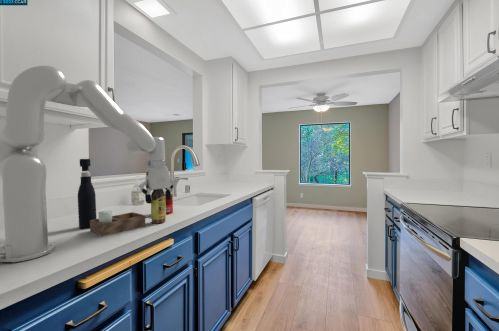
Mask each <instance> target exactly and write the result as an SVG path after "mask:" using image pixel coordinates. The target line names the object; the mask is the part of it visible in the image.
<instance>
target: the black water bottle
mask: <svg viewBox="0 0 499 331" xmlns="http://www.w3.org/2000/svg"><path fill="white" fill-rule="evenodd" d="M79 167H81V171H82V172H81V173H80V174H81V175H80V184H79V187H78V190H77V210H78V214H77V215H78V229H80V230H88V229H89V230H90V220H94V219H97V202H96V201H97V200H96V191H95V188H94V186H93V183H92V176H91V172H90V167H91V158H80V159H79Z"/></svg>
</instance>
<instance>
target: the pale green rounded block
mask: <svg viewBox="0 0 499 331" xmlns="http://www.w3.org/2000/svg"><path fill="white" fill-rule="evenodd" d="M112 216H113V211H112V210H103V211H99V212H98V219H99V223H101V224H104V223H109V222H112Z"/></svg>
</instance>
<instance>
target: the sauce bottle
mask: <svg viewBox="0 0 499 331" xmlns="http://www.w3.org/2000/svg"><path fill="white" fill-rule="evenodd" d="M164 192H165V191H164V189H157V190H152V191H151V193H150V194H151V203H150V218H151V223H152V224H162V223H164V222H166V218H167V215H166V203H165V194H164Z"/></svg>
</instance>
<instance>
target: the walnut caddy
mask: <svg viewBox="0 0 499 331" xmlns="http://www.w3.org/2000/svg"><path fill="white" fill-rule="evenodd" d="M144 226H146V215H145V214H141V213H137V212H135V211H132V212H125V213H121V214H115V215H112V222H109V223H104V224H101V223H99V218H96V219H94V220H90V228H89V231H90V232H91V233H93V234H96V235H97V236H99V237H104V236H108V235H112V234H116V233H117V234H118V233H120V232H124V231H125V232H126V231H128V230H131V229H136V228H141V227H144Z"/></svg>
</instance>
